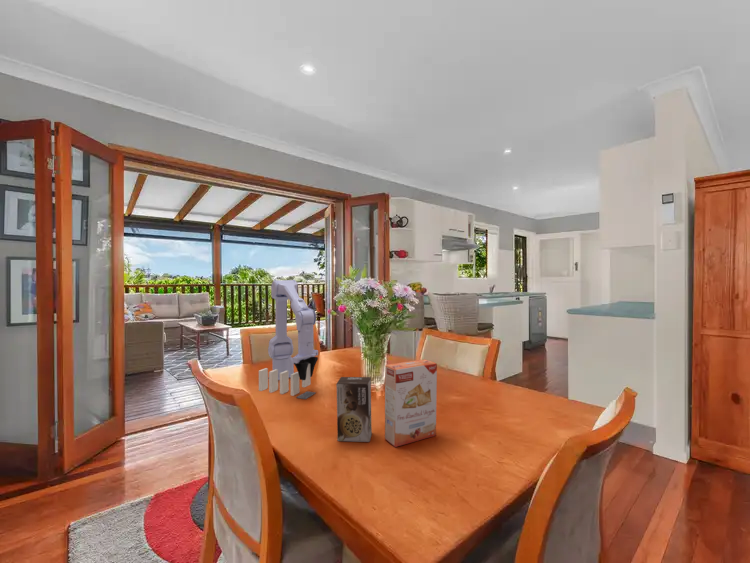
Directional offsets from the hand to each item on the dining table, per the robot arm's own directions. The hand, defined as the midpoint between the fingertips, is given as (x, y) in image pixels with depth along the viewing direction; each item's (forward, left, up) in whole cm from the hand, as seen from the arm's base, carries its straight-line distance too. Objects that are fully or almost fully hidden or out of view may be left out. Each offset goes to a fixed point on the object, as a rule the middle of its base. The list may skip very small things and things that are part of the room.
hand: (306, 378), depth 133 cm
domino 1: (0, -20, -7) cm, 21 cm away
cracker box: (+19, +46, -7) cm, 51 cm away
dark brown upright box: (+24, +31, -7) cm, 40 cm away
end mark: (0, 0, -7) cm, 7 cm away
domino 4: (0, -5, -7) cm, 8 cm away
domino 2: (0, -15, -7) cm, 16 cm away
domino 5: (0, 0, -3) cm, 3 cm away
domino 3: (0, -10, -7) cm, 12 cm away
